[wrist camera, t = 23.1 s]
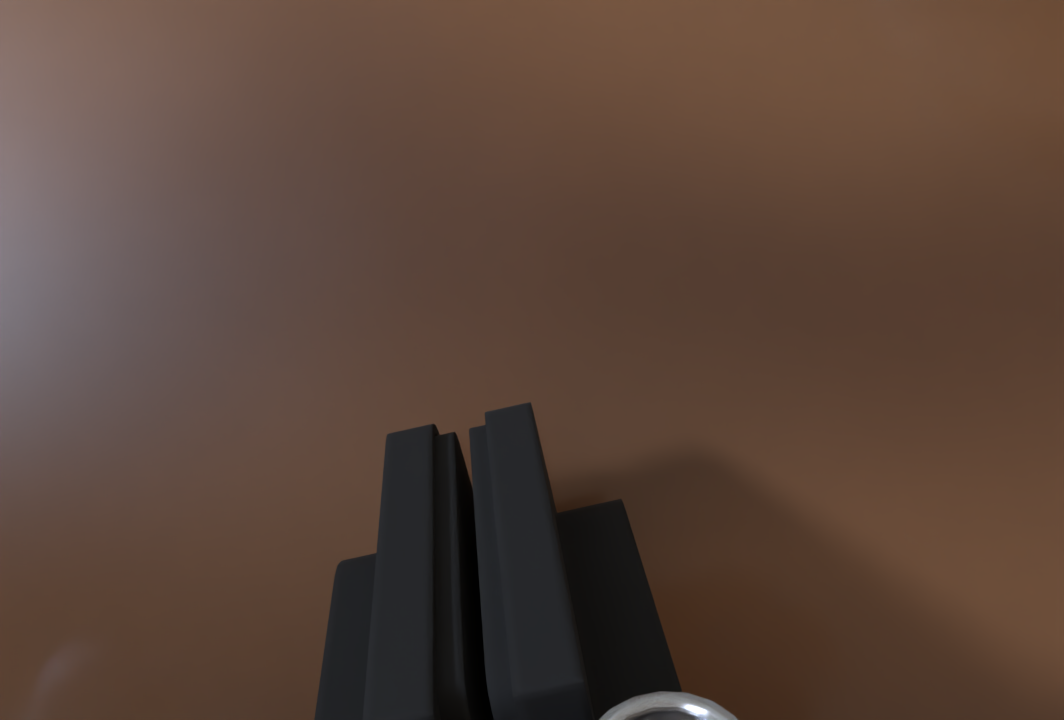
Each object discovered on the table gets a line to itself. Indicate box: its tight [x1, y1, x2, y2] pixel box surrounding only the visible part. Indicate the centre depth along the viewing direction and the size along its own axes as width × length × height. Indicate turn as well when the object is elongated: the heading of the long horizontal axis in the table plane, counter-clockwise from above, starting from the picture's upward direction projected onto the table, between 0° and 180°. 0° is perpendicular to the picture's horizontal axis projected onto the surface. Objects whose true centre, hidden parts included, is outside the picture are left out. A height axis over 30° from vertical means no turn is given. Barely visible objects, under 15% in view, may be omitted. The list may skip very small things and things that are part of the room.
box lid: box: [0, 0, 1064, 720], centre depth 12 cm, size 15×16×1 cm
